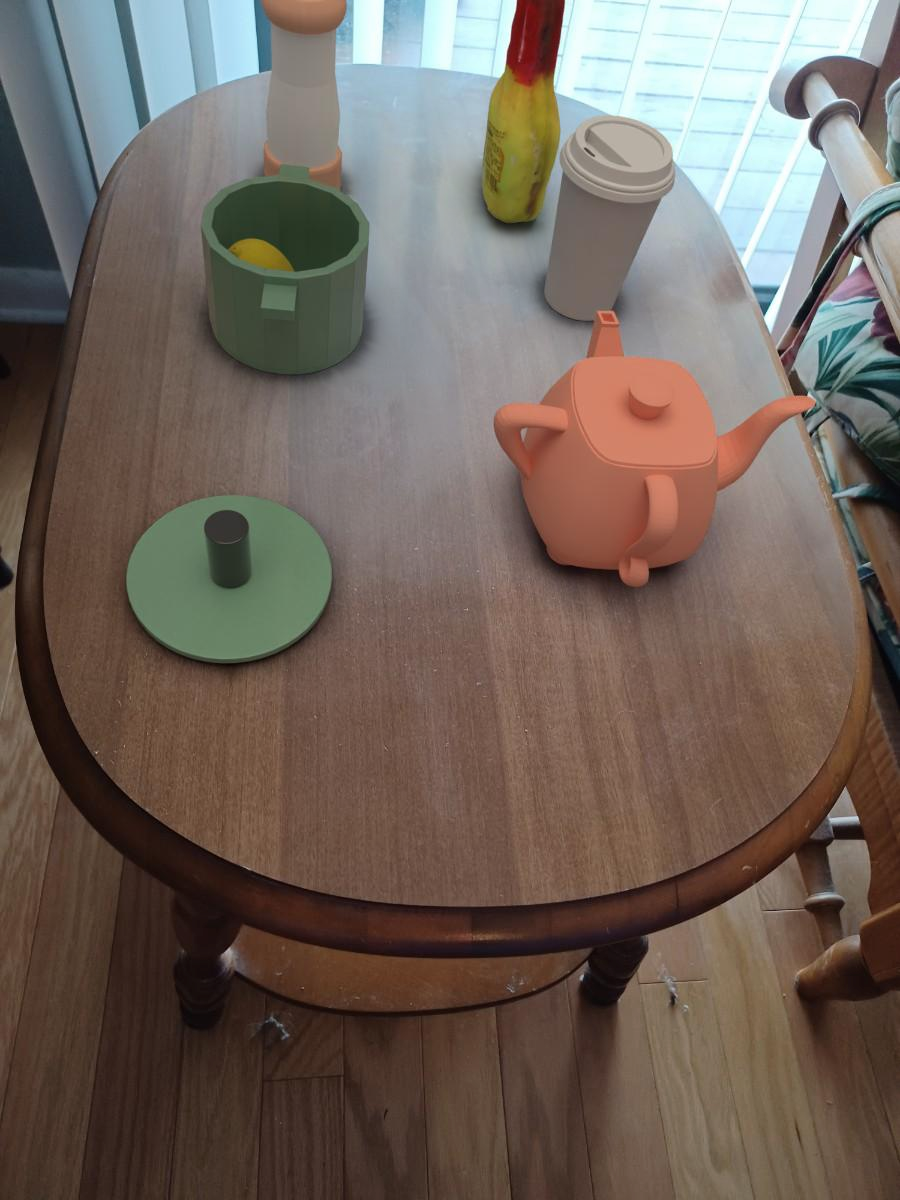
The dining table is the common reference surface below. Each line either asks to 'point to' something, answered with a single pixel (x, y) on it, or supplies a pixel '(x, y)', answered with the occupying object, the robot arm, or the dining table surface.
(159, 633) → the pot lid
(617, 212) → the coffee cup
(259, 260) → the lemon
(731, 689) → the dining table surface
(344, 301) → the pot
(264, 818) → the dining table surface
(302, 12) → the salt shaker
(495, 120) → the bottle
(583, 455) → the teapot
